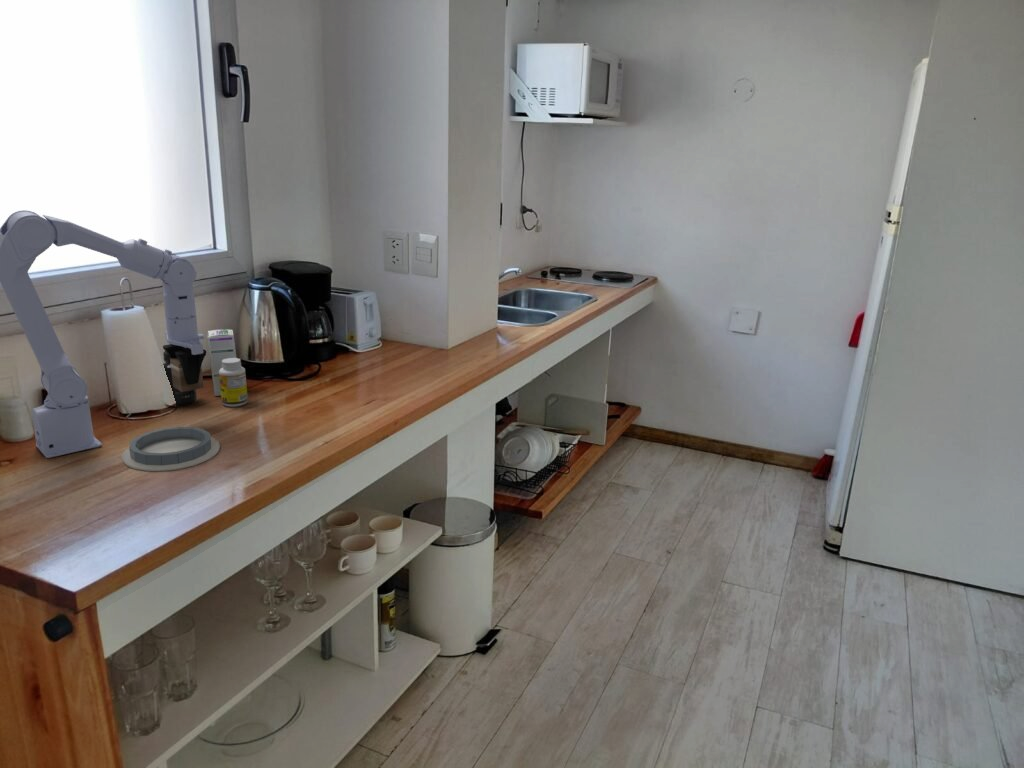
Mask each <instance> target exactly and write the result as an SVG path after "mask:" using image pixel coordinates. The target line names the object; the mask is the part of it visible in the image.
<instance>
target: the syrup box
mask: <svg viewBox="0 0 1024 768" xmlns="http://www.w3.org/2000/svg"><path fill="white" fill-rule="evenodd" d="M207 344H208V351H209V361H210V362H209V363H210V369H211V370H210V371H211V378H212V387H213V395H214V397H217V396H218V397H219V396H220V397H221V389H220V378H219V370H220V369H221V368H222V360H223V359H227V358H238V357H237V356H238V355H237V352H236V351H237V350H236V343H235V335H234V330H233V328H226V329H225V328H220V329H212V330H208V331H207Z"/></svg>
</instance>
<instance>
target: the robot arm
mask: <svg viewBox="0 0 1024 768" xmlns="http://www.w3.org/2000/svg"><path fill="white" fill-rule="evenodd" d="M52 245H55V246H56V247H63V246H68V245H75V246H79V247H82V248H85V249H89V250H91V251H94V252H97V253H100V254H103V255H107V256H110V257H112V258H115V259H117V261H118V263H119V264H120V267H121V268H123V269H125V270H129V271H131V272H134V273H137V274H139V275H143V276H146V277H149V278H152V279H155V280H158V279H159V280H160V281H161V284H162V292H163V294H162V299H163V306H164V307H163V308H164V316H165V325H166V330H165V331H164V335H165V340H166V342H167V343H168V344H164V345H162V349H163V350H164V351H166V353H167V354H168V356H169V358H170V359H171V358H178V359H179V361H180V363H181V366H182V369H183V373H184V377H185V380H186V383H187V384H188V385H190V384H196V383H198V381H199V375H200V369H201V365H202V363H203V361H204V359H205V357H206V355H207V350H206V349H205V348H204V346H203V345H204V344H203V343H201V340H205V335H204V334H203V333H199V330H198V319H197V310H196V300H195V292H194V282H195V280H196V278H197V271H195V268H194V266H193V264H192V263H191V262H190V261H189V260H188V259H185V258H184V257H182V256H179V255H177V254H176V253H173V252H172V251H171V250H169V249H167V248H166V249H165V250H162V249H161V248H157V247H155V246H152V245H149V244H148V241H147V240H144V239H142V238H138V239H137V240H136V239H135V238H134V239H128V240H125V241H118V240H116V239H113V238H111V237H109V236H106V235H104V234H101V233H100V232H96V231H94V230H91V229H88V228H87V227H84V226H81V225H79V224H77V223H74V222H72V221H69V220H65V219H61V218H59V217H58V218H57V217H54V216H50V215H45V214H43V215H42V216H41V215H40V214H38V213H36V212H35V211H31V210H27V209H23V210H17V211H15V212H13V213H11V214H10V215H9V216H8V217H7V218H6V220H5V221H4V223H2V225H1V226H0V285H1V287H2V290H3V293H4V294H5V296H6V298H7V300H8V302H9V304H10V306H11V308H12V310H13V312H14V315H15V316H16V319H17V321H18V323H19V325H20V328H21V329H22V331H23V333H24V335H25V337H26V340H27V341H28V343H29V345H30V348H31V349H32V352H33V355H34V356H35V358H36V362H37V363H38V366H39V368H40V370H41V371H40V372H41V375H40V382H41V383H40V384H41V385H42V387H43V388H44V389H45V391H47V392H46V393H47V395H46V397H45V399H44V400H43V404H42V405H40V406H37V407H34V408H32V409H31V419H32V420H31V421H32V425H33V432H34V437H35V447H36V448H37V449H38V450H39V452H41V454H43V456H44V457H45V458H46V459H50V458H55V457H59V456H63V455H67V454H68V455H69V454H71V453H72V454H73V453H75V452H81V451H82V452H83V451H86V450H90V449H95V448H99V447H101V446H102V442H101V441H100V440H99V439H98V438H96V436H95V434H94V428H93V423H92V415H91V409H90V402H89V396H88V395H87V394H88V384H87V382H86V381H85V379H83V377H82V376H80V374H79V372H78V371H77V369H76V368H75V367H74V366H73V365H72V364H71V362H70V361H69V358H68V356H67V355H66V353H65V350H64V348H63V347H62V344H61V341H60V339H59V337H58V335H57V333H56V331H55V329H54V327H53V325H52V322H51V320H50V319H49V315H48V314H47V312H46V310H45V307H44V306H43V303H42V301H41V299H40V297H39V294H38V293H37V290H36V287H35V286H34V283H33V280H32V279H31V277H30V275H29V270H30V269H31V268H32V265H33V264H34V263H35V261H36V259H37V257H39V256H40V255H42V253H44V252H45V251H46V250H48V249H49V248H50V247H51V246H52ZM202 366H203V365H202Z"/></svg>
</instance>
